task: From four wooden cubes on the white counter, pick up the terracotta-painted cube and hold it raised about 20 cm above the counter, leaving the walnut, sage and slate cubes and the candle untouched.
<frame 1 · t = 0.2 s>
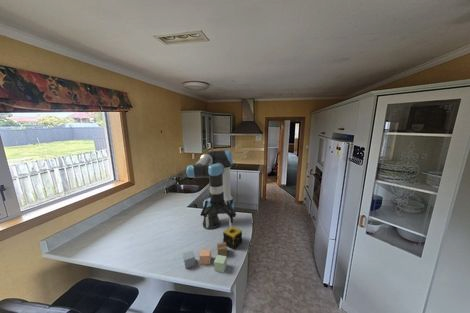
hand: (218, 227, 103), 27 cm above the worktop, fingers open, 13 cm apart
terracotta cube: (206, 260, 114), on the worktop
sage cube: (220, 267, 108), on the worktop
candle: (232, 243, 130), on the worktop
walnut cube: (222, 253, 120), on the worktop
slate cube: (189, 263, 112), on the worktop
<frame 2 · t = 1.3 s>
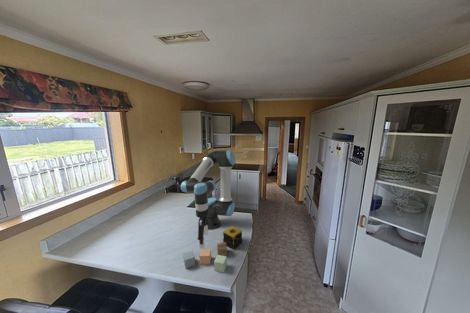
hand: (204, 240, 111), 14 cm above the worktop, fingers open, 13 cm apart
nothing on the worktop moved.
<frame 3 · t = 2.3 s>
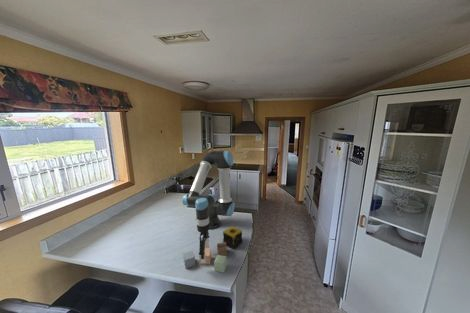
hand: (205, 254, 113), 5 cm above the worktop, fingers open, 13 cm apart
nothing on the worktop moved.
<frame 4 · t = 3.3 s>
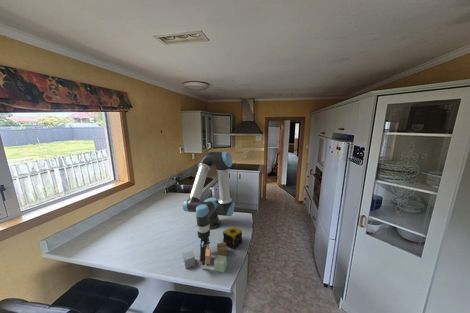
hand: (205, 260, 114), 0 cm above the worktop, fingers open, 12 cm apart
nothing on the worktop moved.
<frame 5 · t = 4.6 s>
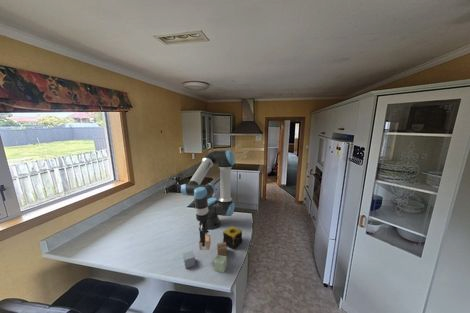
hand: (205, 245, 113), 10 cm above the worktop, fingers closed on terracotta cube, 6 cm apart
terracotta cube: (205, 246, 113), point 10 cm above the worktop, touching gripper
everything else where it was.
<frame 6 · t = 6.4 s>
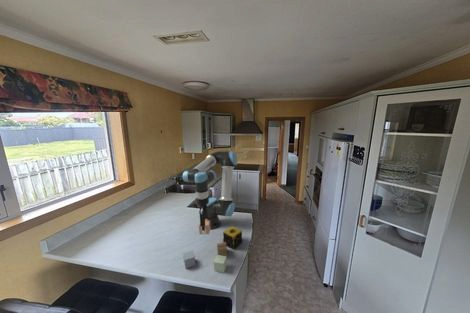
hand: (205, 230, 115), 18 cm above the worktop, fingers closed on terracotta cube, 6 cm apart
terracotta cube: (205, 231, 115), point 18 cm above the worktop, touching gripper
everything else where it was.
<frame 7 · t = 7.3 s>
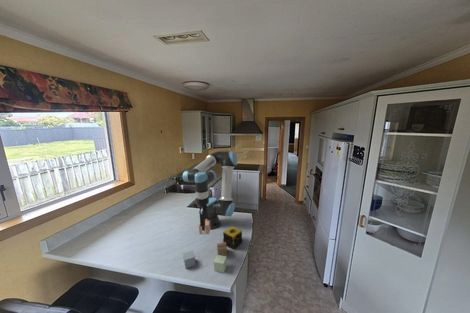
hand: (205, 230, 115), 18 cm above the worktop, fingers closed on terracotta cube, 6 cm apart
terracotta cube: (205, 231, 115), point 18 cm above the worktop, touching gripper
everything else where it was.
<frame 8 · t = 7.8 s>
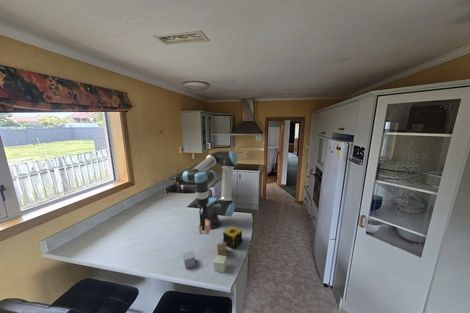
hand: (205, 230, 115), 18 cm above the worktop, fingers closed on terracotta cube, 6 cm apart
terracotta cube: (205, 231, 115), point 18 cm above the worktop, touching gripper
everything else where it was.
at the end: the gripper is holding terracotta cube; terracotta cube point 18.0 cm above the worktop; slate cube moved 0.1 cm from its start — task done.
